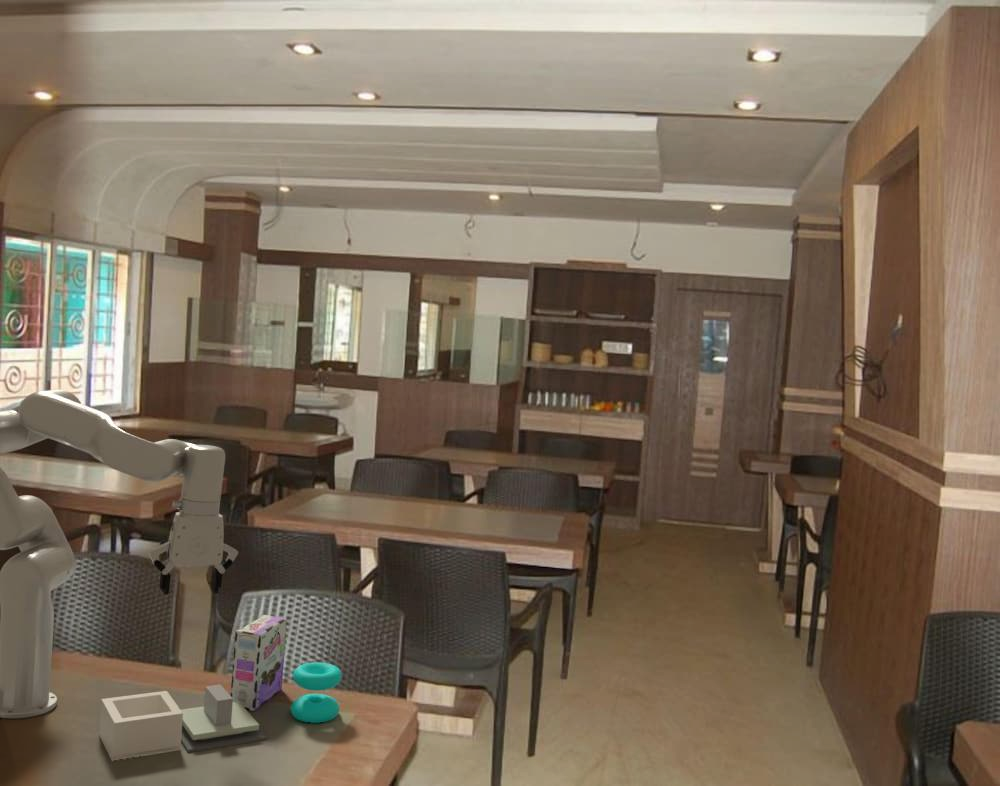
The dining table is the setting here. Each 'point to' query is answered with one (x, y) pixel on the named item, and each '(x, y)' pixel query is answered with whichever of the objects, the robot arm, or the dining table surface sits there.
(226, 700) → the lid
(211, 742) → the rubber mat
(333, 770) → the dining table surface
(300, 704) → the donuts
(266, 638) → the candy box
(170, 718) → the storage box
